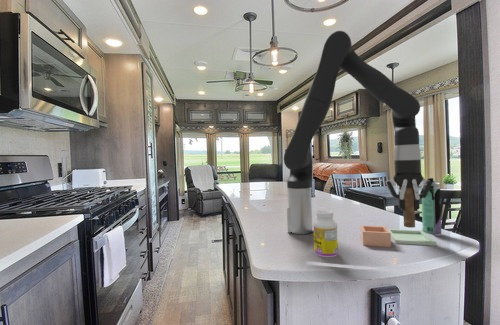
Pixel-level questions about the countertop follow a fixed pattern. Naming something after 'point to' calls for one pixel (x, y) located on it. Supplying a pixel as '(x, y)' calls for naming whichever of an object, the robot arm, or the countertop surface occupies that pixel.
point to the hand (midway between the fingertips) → (409, 210)
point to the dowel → (409, 208)
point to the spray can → (432, 210)
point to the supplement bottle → (325, 234)
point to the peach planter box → (375, 236)
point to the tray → (411, 237)
